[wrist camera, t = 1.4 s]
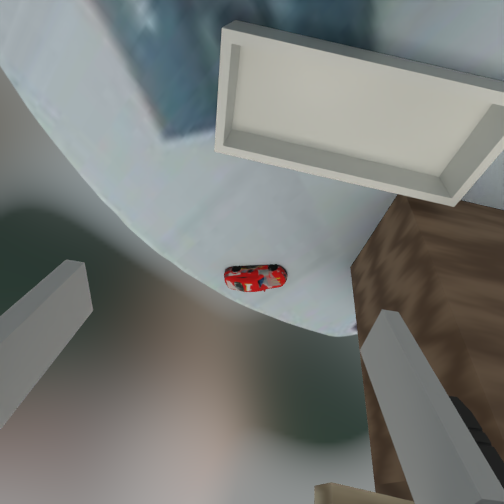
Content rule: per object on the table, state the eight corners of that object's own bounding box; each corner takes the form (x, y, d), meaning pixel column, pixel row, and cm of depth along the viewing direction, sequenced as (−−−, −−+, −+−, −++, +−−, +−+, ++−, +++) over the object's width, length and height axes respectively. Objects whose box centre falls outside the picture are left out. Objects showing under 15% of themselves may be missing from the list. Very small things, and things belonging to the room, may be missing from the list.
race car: (285, 262, 55) (284, 277, 52) (289, 279, 58) (288, 295, 56) (223, 264, 58) (218, 278, 55) (230, 280, 62) (226, 295, 59)
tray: (235, 19, 29) (221, 27, 25) (512, 83, 29) (544, 101, 25) (225, 131, 38) (214, 151, 34) (439, 181, 38) (454, 207, 34)
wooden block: (402, 187, 39) (563, 591, 14) (512, 212, 39) (881, 665, 14) (350, 267, 52) (382, 552, 27) (433, 286, 52) (544, 590, 27)
